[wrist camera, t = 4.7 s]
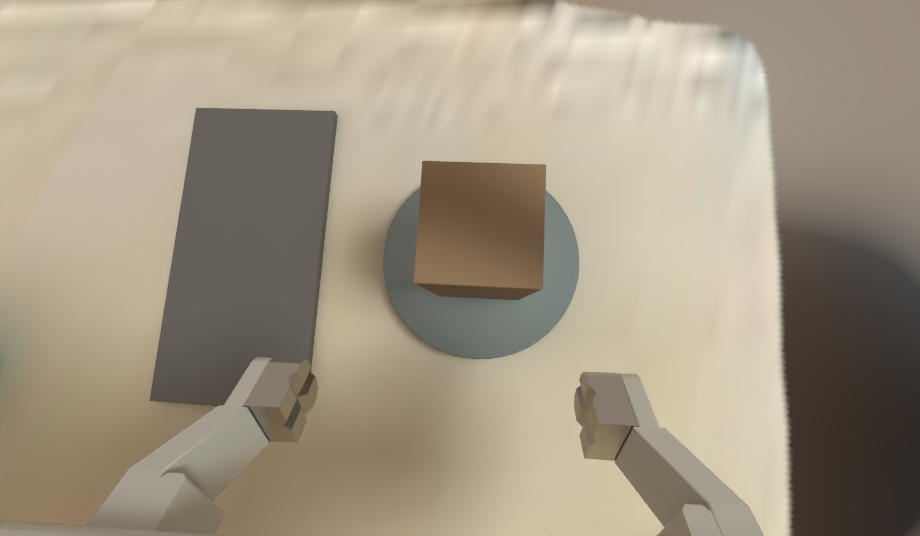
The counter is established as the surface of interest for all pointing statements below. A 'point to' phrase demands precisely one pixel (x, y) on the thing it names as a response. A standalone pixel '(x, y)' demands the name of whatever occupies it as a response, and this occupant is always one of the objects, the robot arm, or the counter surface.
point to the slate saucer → (476, 319)
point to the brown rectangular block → (481, 229)
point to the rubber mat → (245, 249)
